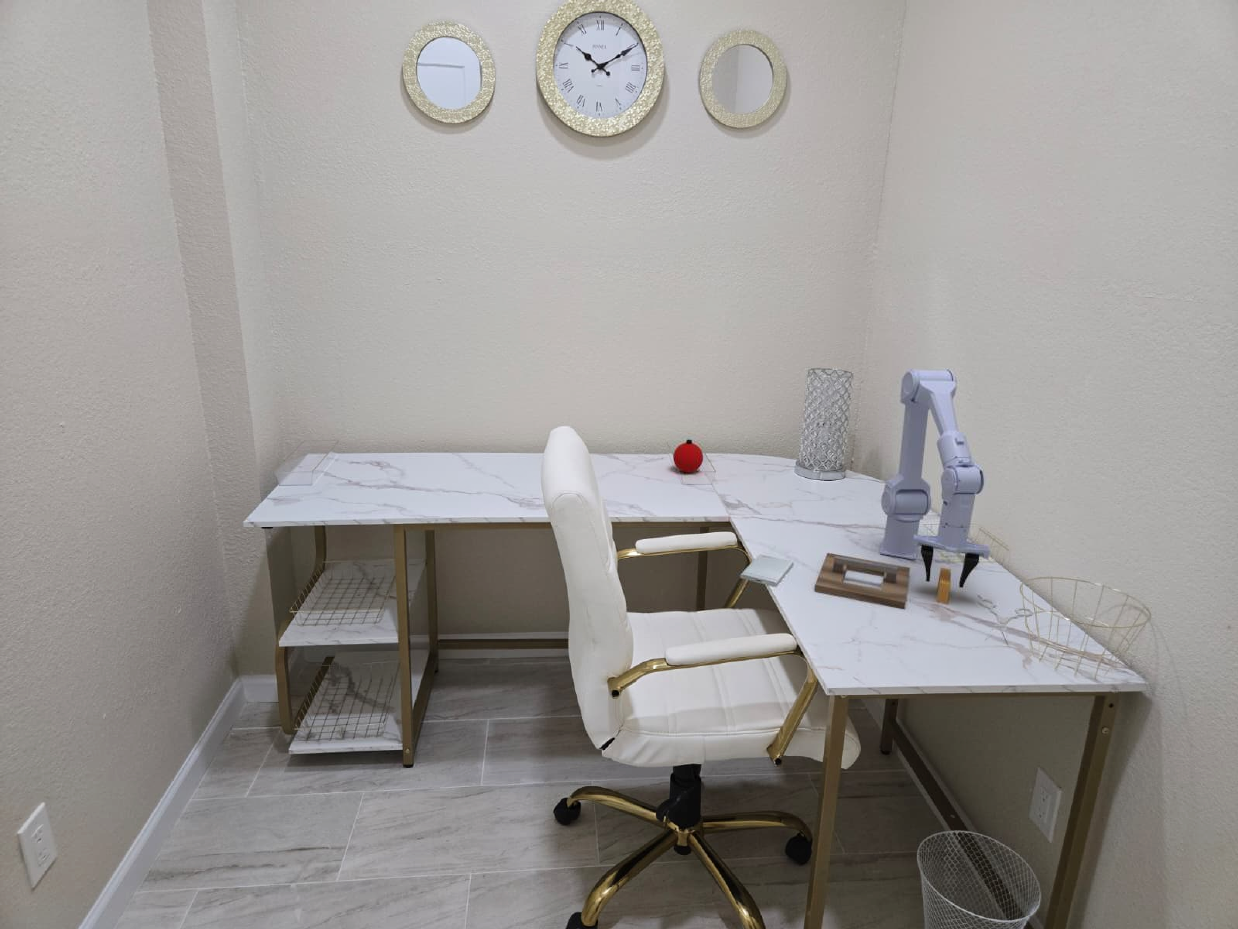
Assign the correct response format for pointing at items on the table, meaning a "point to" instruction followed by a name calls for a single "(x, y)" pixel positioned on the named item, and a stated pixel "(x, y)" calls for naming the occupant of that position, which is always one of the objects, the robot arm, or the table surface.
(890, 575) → the hook bar
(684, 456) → the ornament
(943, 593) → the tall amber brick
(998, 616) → the scissors
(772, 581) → the hard drive
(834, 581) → the brown wooden frame
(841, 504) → the table surface
